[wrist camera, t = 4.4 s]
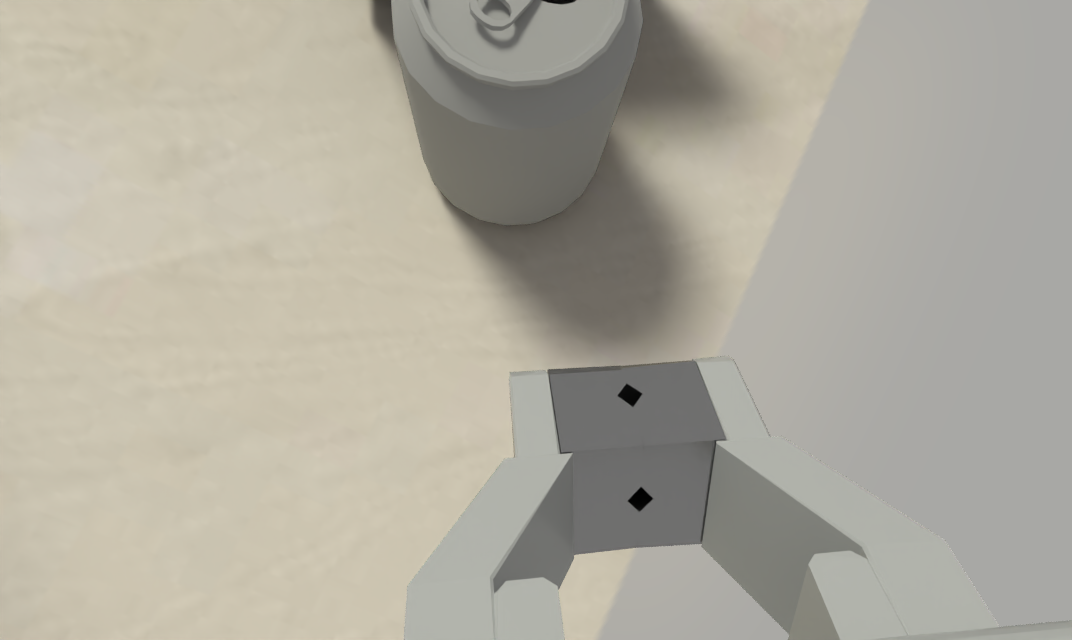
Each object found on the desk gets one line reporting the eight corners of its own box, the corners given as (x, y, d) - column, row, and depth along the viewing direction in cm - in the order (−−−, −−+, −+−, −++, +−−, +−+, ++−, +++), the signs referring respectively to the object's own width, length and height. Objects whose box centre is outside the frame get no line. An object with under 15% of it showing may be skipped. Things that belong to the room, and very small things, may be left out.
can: (634, 138, 34) (708, -36, 22) (523, 267, 32) (539, 158, 21) (499, 32, 34) (501, -191, 22) (386, 156, 33) (325, -12, 21)
